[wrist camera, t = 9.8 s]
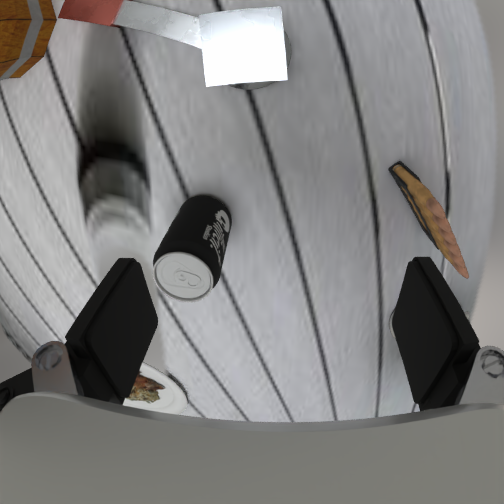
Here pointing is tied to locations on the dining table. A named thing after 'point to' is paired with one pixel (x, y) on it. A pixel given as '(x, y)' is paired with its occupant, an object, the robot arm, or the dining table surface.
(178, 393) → the plated food
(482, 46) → the dining table surface
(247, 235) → the dining table surface
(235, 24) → the brushed metal block
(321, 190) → the dining table surface
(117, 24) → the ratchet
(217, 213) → the beverage can
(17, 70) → the mug
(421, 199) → the ammunition clip
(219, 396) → the dining table surface
